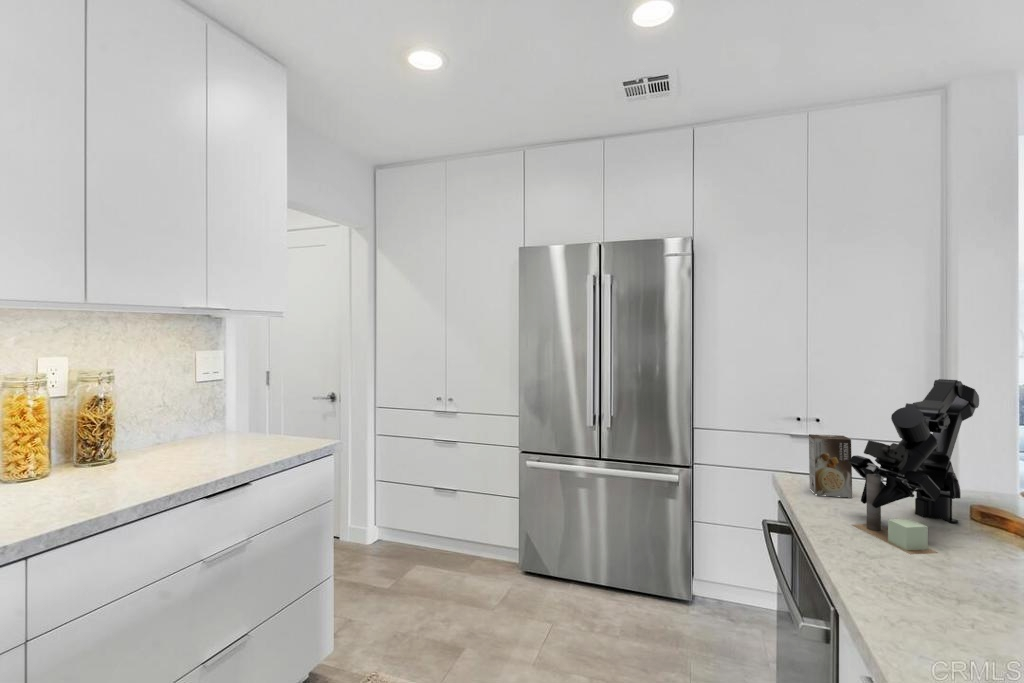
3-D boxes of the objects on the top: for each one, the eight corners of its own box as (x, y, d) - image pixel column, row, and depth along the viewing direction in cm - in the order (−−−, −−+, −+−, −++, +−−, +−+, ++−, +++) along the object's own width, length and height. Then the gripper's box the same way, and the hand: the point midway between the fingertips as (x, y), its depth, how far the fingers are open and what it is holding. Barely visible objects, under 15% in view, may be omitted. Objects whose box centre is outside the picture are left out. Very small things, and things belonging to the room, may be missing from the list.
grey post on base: (875, 527, 119) (875, 471, 119) (938, 557, 103) (938, 492, 103) (851, 528, 118) (851, 472, 118) (910, 559, 102) (910, 493, 102)
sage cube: (908, 540, 109) (908, 518, 109) (927, 549, 105) (927, 526, 104) (888, 541, 109) (888, 519, 109) (906, 550, 104) (906, 527, 104)
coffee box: (845, 492, 146) (845, 435, 146) (852, 498, 140) (852, 439, 140) (808, 489, 149) (808, 433, 148) (814, 496, 142) (814, 437, 142)
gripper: (855, 421, 125) (814, 469, 124) (928, 436, 107) (882, 493, 105) (883, 452, 127) (843, 500, 125) (961, 472, 108) (915, 528, 106)
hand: (868, 504), depth 115 cm, fingers closed on grey post on base, 3 cm apart
